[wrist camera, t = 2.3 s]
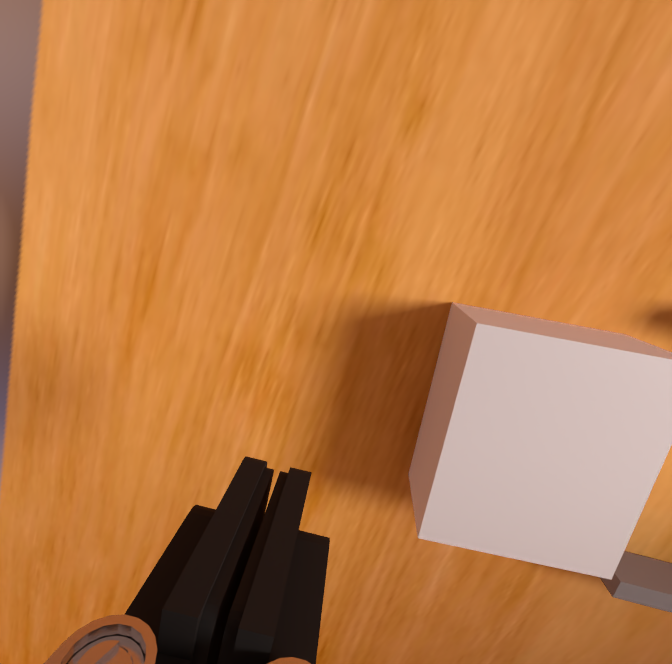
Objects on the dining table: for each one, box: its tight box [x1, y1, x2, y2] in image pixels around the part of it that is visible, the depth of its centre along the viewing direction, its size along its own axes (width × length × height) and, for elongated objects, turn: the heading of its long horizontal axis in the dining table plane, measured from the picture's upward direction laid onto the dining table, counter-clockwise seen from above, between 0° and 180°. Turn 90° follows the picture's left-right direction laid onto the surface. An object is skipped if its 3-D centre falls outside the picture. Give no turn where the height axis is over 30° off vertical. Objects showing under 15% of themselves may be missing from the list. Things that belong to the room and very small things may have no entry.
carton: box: [408, 302, 672, 580], centre depth 18 cm, size 8×10×5 cm
